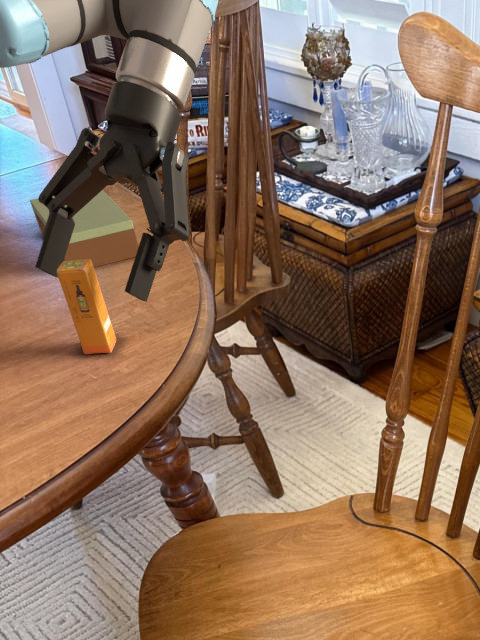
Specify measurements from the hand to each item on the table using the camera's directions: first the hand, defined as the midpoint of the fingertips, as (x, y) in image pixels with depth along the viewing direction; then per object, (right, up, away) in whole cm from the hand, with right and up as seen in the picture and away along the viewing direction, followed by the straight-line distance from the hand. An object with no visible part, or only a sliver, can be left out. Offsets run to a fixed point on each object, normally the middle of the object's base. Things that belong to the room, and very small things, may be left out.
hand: (89, 284), depth 86 cm
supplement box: (0, -6, +4) cm, 8 cm away
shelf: (-10, +14, +26) cm, 31 cm away
